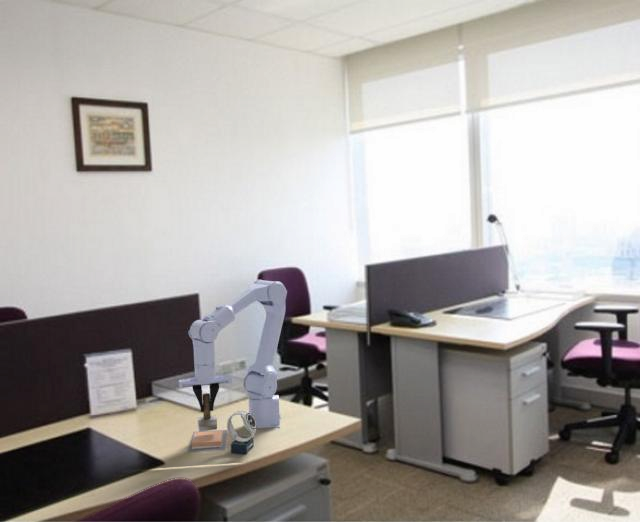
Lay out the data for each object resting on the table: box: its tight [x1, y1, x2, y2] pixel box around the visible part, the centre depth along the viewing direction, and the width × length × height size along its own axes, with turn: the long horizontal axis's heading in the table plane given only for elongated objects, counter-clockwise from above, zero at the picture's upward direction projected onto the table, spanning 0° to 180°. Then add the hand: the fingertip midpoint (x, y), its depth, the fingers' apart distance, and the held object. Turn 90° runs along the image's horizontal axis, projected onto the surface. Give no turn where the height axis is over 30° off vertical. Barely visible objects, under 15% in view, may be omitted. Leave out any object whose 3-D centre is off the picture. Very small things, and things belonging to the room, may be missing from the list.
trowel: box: [197, 392, 218, 432], centre depth 173 cm, size 5×3×10 cm, turn 106°
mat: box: [187, 429, 229, 453], centre depth 174 cm, size 10×15×1 cm, turn 5°
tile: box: [192, 430, 223, 449], centre depth 172 cm, size 8×2×8 cm
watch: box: [226, 410, 258, 455], centre depth 166 cm, size 6×8×11 cm
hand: (206, 410), depth 173 cm, fingers closed on trowel, 2 cm apart
